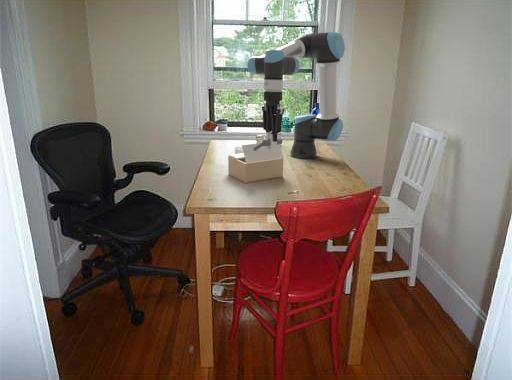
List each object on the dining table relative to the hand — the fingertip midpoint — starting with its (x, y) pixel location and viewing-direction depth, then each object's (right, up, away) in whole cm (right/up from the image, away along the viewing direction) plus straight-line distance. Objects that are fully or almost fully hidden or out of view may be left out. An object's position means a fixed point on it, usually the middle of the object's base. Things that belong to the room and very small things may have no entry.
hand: (271, 148), depth 153 cm
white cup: (-13, -6, +30) cm, 33 cm away
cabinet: (-7, -11, +16) cm, 21 cm away
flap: (-3, -1, +7) cm, 8 cm away
